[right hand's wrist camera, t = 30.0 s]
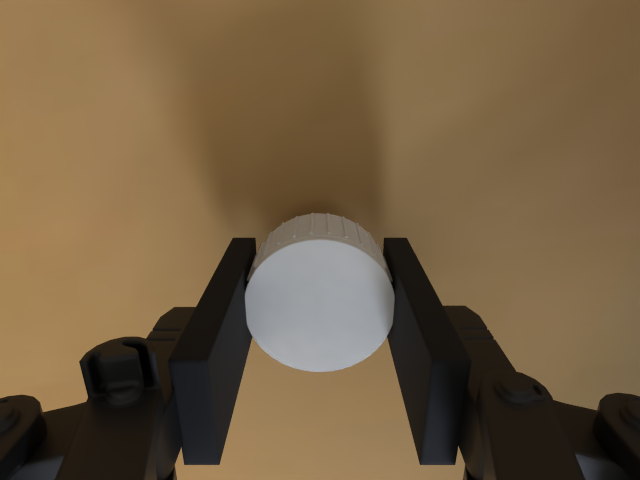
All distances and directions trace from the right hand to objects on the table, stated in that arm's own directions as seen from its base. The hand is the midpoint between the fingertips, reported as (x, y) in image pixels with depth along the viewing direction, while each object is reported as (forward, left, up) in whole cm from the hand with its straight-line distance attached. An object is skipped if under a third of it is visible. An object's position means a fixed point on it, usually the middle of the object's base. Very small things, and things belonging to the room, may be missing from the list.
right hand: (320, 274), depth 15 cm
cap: (0, 0, +2) cm, 2 cm away
